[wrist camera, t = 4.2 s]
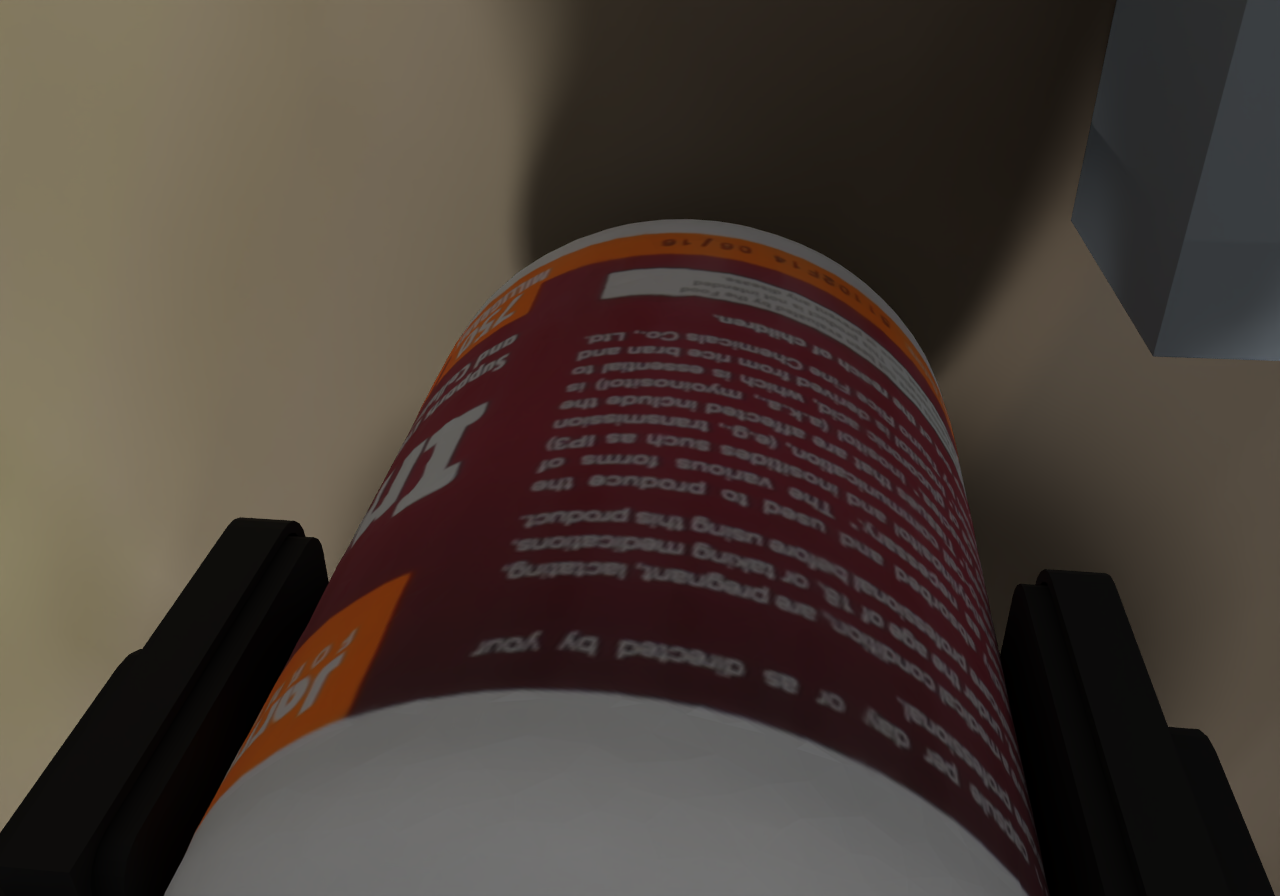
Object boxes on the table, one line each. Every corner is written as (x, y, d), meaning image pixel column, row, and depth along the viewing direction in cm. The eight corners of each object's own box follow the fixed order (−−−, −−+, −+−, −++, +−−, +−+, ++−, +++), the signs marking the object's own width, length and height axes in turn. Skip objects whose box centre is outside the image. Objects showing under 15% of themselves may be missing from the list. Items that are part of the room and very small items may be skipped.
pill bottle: (458, 153, 13) (-405, 1294, 4) (1016, 255, 13) (1620, 1688, 3) (430, 590, 16) (-55, 1767, 7) (872, 672, 16) (986, 1975, 7)
